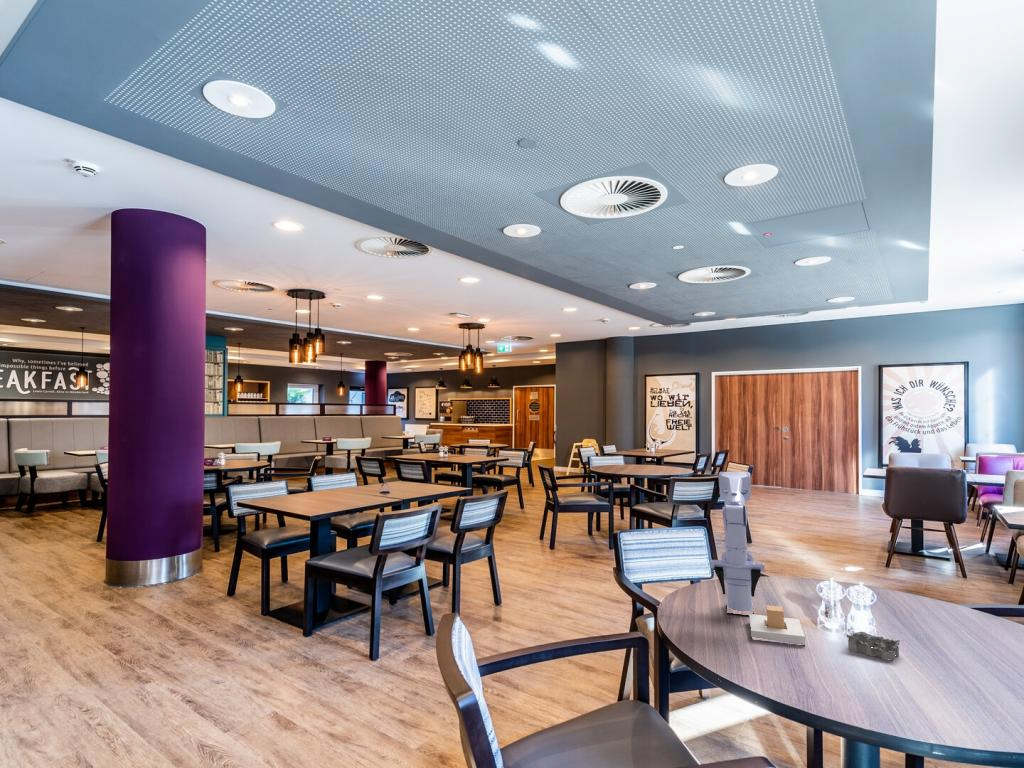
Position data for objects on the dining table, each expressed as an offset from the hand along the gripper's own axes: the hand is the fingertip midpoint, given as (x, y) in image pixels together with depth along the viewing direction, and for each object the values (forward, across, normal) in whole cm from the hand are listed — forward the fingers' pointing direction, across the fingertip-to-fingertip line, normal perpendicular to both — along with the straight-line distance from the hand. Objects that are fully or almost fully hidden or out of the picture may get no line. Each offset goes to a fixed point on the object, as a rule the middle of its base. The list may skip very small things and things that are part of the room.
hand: (738, 594), depth 159 cm
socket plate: (+9, +9, -3) cm, 13 cm away
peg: (+9, +9, -3) cm, 13 cm away
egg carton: (+10, +31, -8) cm, 34 cm away
